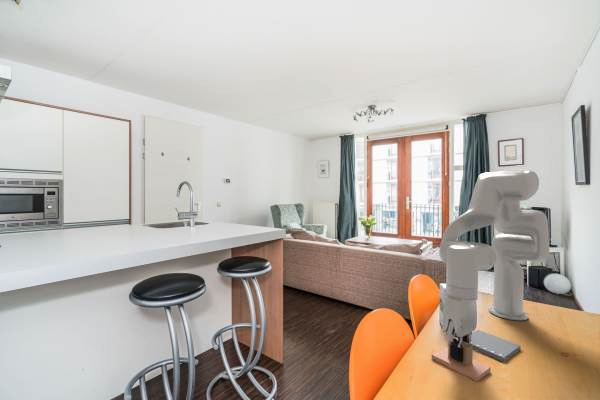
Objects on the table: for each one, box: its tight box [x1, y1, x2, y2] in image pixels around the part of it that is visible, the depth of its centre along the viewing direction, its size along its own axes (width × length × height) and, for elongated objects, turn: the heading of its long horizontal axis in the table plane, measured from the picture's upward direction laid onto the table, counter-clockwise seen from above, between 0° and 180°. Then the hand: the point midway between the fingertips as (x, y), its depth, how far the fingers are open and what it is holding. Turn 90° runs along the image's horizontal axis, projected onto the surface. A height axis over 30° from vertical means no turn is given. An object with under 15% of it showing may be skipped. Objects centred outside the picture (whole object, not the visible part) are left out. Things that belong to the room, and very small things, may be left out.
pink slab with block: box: [431, 336, 492, 382], centre depth 78 cm, size 7×12×6 cm, turn 34°
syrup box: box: [439, 282, 447, 326], centre depth 101 cm, size 6×6×14 cm
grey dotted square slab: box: [470, 329, 521, 363], centre depth 88 cm, size 12×12×1 cm
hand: (460, 357), depth 78 cm, fingers closed on pink slab with block, 3 cm apart
